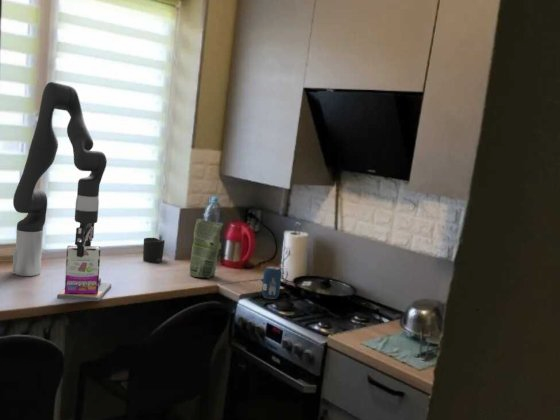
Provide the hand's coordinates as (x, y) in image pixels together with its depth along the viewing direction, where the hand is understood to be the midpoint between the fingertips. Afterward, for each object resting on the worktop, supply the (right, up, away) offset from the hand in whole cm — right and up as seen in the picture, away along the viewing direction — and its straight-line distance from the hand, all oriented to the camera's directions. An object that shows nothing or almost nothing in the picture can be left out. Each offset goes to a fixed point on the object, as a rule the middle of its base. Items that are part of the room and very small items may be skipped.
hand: (83, 254), depth 198 cm
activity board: (-2, -14, +7) cm, 16 cm away
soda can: (+65, -19, +28) cm, 73 cm away
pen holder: (+9, -8, +66) cm, 67 cm away
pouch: (+35, -14, +48) cm, 61 cm away
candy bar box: (-1, -14, +2) cm, 14 cm away
